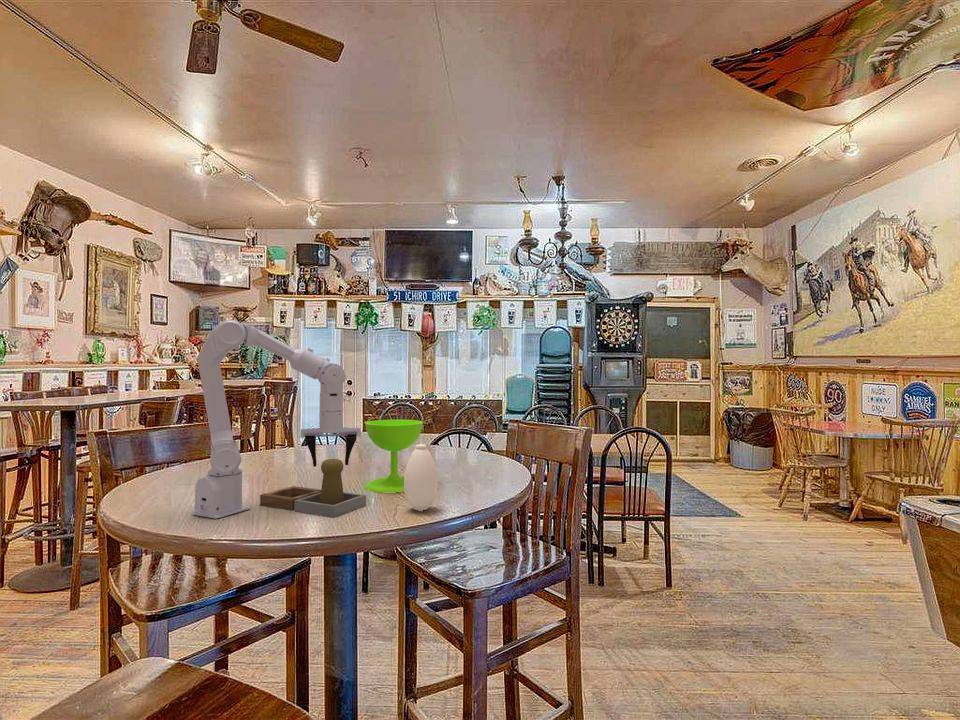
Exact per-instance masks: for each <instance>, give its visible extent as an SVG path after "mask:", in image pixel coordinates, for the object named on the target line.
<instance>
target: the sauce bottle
mask: <svg viewBox="0 0 960 720" xmlns="http://www.w3.org/2000/svg"><path fill="white" fill-rule="evenodd" d="M419 437H420V438H419V444H418V443H417V444H416V445H415V449H414V450H413V452H412V453H411V455H410V456H409V458H408V461H407V464H406V467H405V469H404V470H405V471H404V477H403V478H404V497H405V499H406V501H407V503H408V505H409V506H410V507H412V508H413V510H415V511H417V510H418V511H417V512H424V511H423V510H428V509H429V506H432V505H433V503H434V501H435V499H436V498H437V494H438V489H439V477H438V475H439V474H438V470H437V467H436V463H435V461H434V457H433V456H432V454H431V452H430V451H429V449H428V446H427V444H423V435H422V433H420V436H419Z"/></svg>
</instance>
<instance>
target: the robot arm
mask: <svg viewBox="0 0 960 720" xmlns="http://www.w3.org/2000/svg"><path fill="white" fill-rule="evenodd" d="M243 342H244V346H243V347H259V348H261V349H263V350H264V351H267V352H270V353H271V354H274V355H276V356H279V357H280V358H282V359H285V360H287V361H288V362H289V365H290V368H291V369H293V370H295V371H297V372H299V373H301V374H303V375H304V376H307V377H309V378H310V379H313V380H318V382H319V384H320V387H319V388H320V392H319V413H318V414H319V420H318V422H319V423H318V425H319V427H316V428H315V427H313V428H301V429H300V438H302V439H304V440H305V443H306V445H307V448H308V450H309V452H310V455H311V460H312V466H313V468H315V467H317V452H316V451H317V446H316V445H317V437H318V438H321V437H345V455H344V456H345V457H344V458H345V459H344V465H345V466H349V461H350V456H351V453H352V450H353V448H354V446H355V443H356V441H357V437H361V436H362V434H361V433H362V428H361V427H344V390H343V389H344V386H343V384H344V382H345V381H346V379H347V374H346V372H345V370H344V368H343V366H341V365H339V364H337V363H332V362H331V359H330V358H328V357H326V358H324V357H322V356H320V355H319V354H316V353H314V349H312V348H311V347H307V348H305V347H300V348H297V349H295V348H293V347H291V346H290V345H288V344H287V343H284V342H282V341H280V340H278V339H277V338H275V337H274V336H272V335H270V334H267V333H266V332H264V331H263V330H261V329H258V328H255V327H254V326H251V325H248V324H246V323H245V324H242V323H241V322H240V321H238V320H235V319H225V320H223V321H220V322H219V323H218V324H217V325H216V326H215V327H214V328H212V329H211V330H210V333H209V335H208V336H207V338H206V340H205V341H204V343H203V345H202V347H201V349H200V351H199V353H198V355H197V364H198V370H199V376H200V382H201V387H202V393H203V399H204V404H205V405H204V406H205V410H206V416H207V421H208V426H209V432H210V439H211V446H212V448H211V451H210V455H209V456H210V460H209V461H210V463H209V464H210V466H211V468H210V469H209V470H208V471H207V475H206V476H204V477H201V478H199V479H198V480H197V481H196V484H195V488H194V511H192V515H193V516H200V517H204V518H210V519H221V518H223V517H227V516H230V515H234V514H238V513H241V512H243V511H244V512H245V511H247V510H250V509H251V506H248V505H243V469H242V468H241V467H240V465H241V463H242V456H241V453H240V449H239V447H238V446H237V444H235V442H234V436H233V432H232V424H231V420H230V413H229V409H228V403H227V398H226V397H227V396H226V391H225V385H224V379H223V374H222V373H223V371H222V368H221V362H222V361H223V360H224V359H225V358H226V357H227V356H228V354H229V353H230V352H231V351H233V350H234V349H235V350H236V348H238V347H239V346H240V345H242V344H243Z"/></svg>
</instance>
